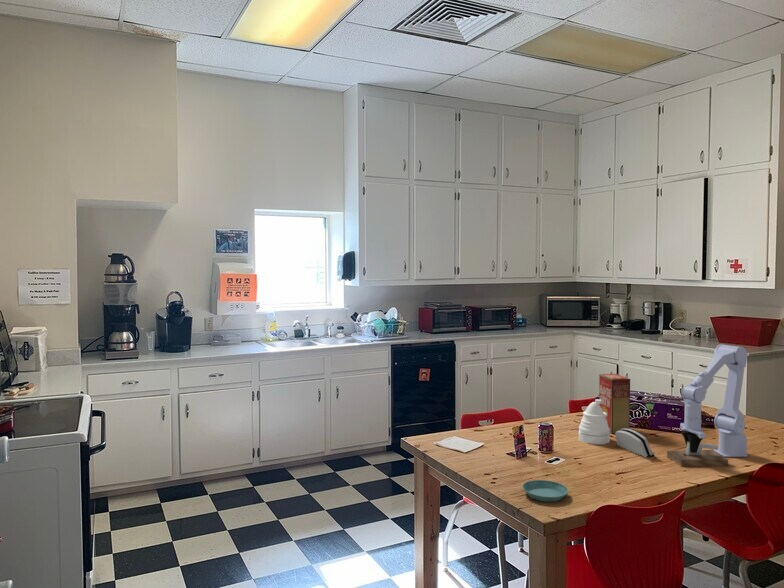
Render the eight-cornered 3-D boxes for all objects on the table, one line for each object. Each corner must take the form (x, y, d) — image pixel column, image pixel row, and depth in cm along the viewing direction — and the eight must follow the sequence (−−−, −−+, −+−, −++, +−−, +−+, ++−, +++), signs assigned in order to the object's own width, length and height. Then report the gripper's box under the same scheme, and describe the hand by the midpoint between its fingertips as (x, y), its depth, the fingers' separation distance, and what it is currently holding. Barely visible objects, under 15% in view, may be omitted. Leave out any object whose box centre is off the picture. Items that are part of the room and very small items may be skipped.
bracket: (712, 462, 229) (714, 444, 229) (715, 463, 227) (717, 446, 227) (684, 458, 229) (687, 441, 228) (687, 460, 227) (690, 442, 226)
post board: (711, 456, 234) (711, 450, 233) (728, 465, 223) (728, 459, 222) (666, 456, 233) (667, 450, 233) (681, 466, 222) (681, 459, 222)
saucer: (542, 508, 185) (542, 499, 185) (513, 491, 198) (513, 484, 198) (577, 499, 191) (577, 491, 191) (547, 484, 205) (547, 477, 205)
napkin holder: (656, 456, 233) (649, 434, 232) (646, 461, 232) (640, 439, 231) (627, 444, 249) (620, 423, 248) (618, 449, 248) (612, 427, 246)
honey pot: (615, 441, 254) (616, 399, 253) (597, 446, 247) (597, 404, 246) (590, 433, 265) (591, 394, 264) (572, 438, 258) (572, 398, 257)
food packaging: (597, 426, 277) (598, 373, 276) (616, 425, 278) (617, 373, 277) (611, 434, 264) (612, 379, 263) (631, 433, 265) (632, 378, 264)
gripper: (673, 412, 234) (672, 445, 235) (692, 421, 219) (691, 457, 220) (690, 411, 234) (689, 445, 235) (711, 421, 220) (710, 457, 220)
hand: (691, 451), depth 228 cm, fingers closed on bracket, 2 cm apart
